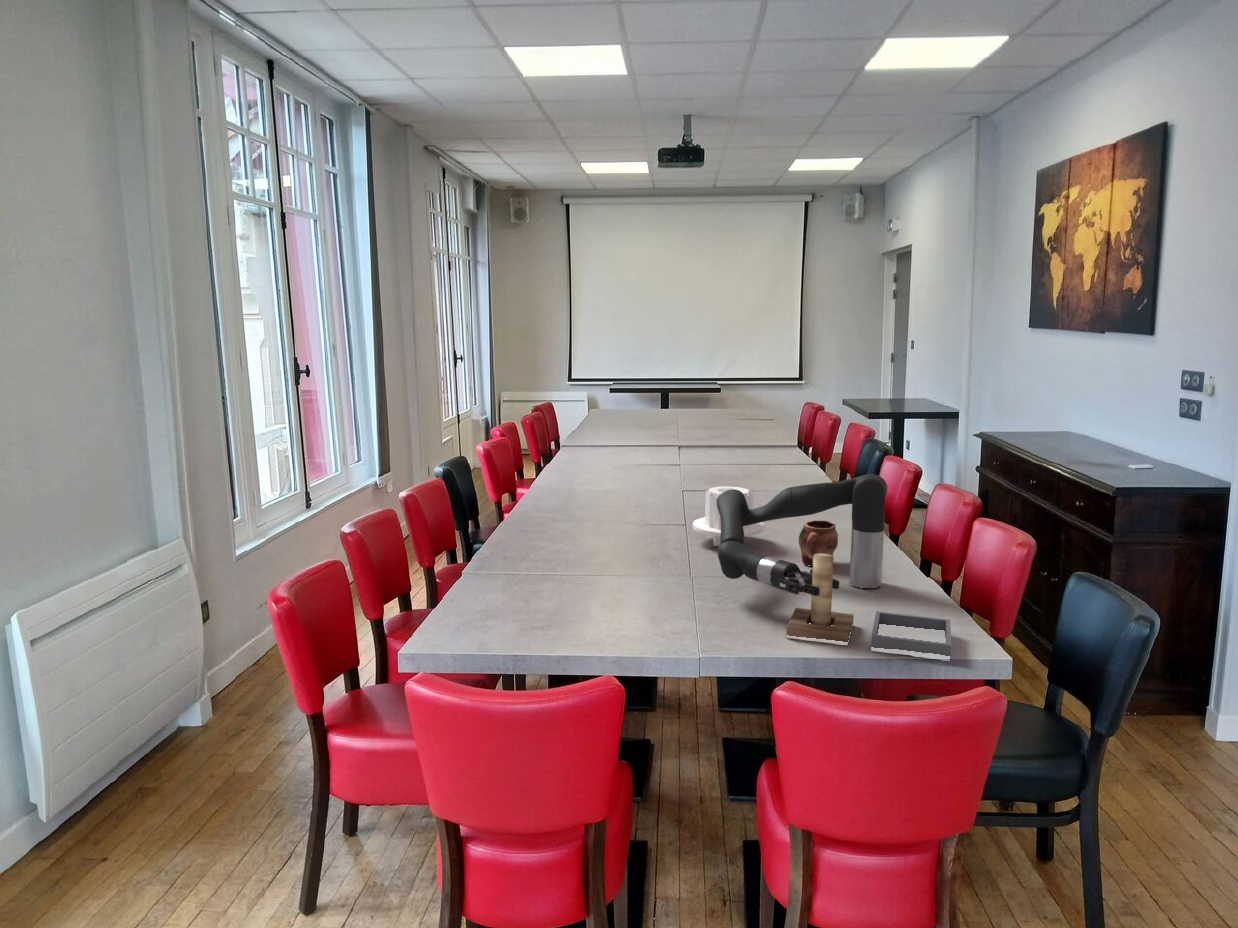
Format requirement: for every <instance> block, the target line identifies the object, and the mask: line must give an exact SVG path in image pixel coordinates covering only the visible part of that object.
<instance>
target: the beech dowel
mask: <svg viewBox="0 0 1238 928" xmlns="http://www.w3.org/2000/svg"><path fill="white" fill-rule="evenodd" d="M833 561H834V555H833V556H832V555H829V554H815V555H813V567H812V569H813V573H812V585H813V586H816V587H819V589H820V592H819V596H814V595H811V601H810V602H811V605H810V608H811V624H816V625H824V626H831V612H832V607H833V606H832V605H833V588H832V582H833V579H834V577H833V576H834V562H833Z"/></svg>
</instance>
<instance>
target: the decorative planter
mask: <svg viewBox="0 0 1238 928" xmlns="http://www.w3.org/2000/svg"><path fill="white" fill-rule="evenodd" d="M836 527H837V526H836V523H834V522H831V521H829V520H825V519H824V520H816V519H815V520H814V519H813V520H811V521H807V522H805V523H804V524H803V526H802V528H801V531H800V533H799V535H798V546H799V549H800V553H801V560H802V563H804V564H806V565H810V566H813V555H815V554H829V555H832V556H833V557H834V553H835V551H836V549H837V548H838V544H839V538H838V537H839V532H838V531H837V530H836ZM833 563H834V560H833ZM804 564H803V565H804ZM806 565H805V566H806ZM810 566H809V567H810Z"/></svg>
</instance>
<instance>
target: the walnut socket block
mask: <svg viewBox="0 0 1238 928" xmlns="http://www.w3.org/2000/svg"><path fill="white" fill-rule="evenodd" d="M854 617H855V615H854V613H845V612H836V611H831V625H833V626H824V625H816V624H809V623H811V609H810V608H803V607H795V609H794V611H792V614H791V617H790V618H789V621H788V624H787V626H786V635H789V636H796V637H806V638H816V639H826V640H835V641H843V642H848V640H849V641H850V639H849V636H850V637H851V635H850V632H851V628H852V625H853V626H854ZM852 629H853V628H852ZM851 633H852V632H851Z"/></svg>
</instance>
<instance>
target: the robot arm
mask: <svg viewBox="0 0 1238 928" xmlns="http://www.w3.org/2000/svg"><path fill="white" fill-rule="evenodd" d="M887 493H888V485H887V482H886V480H885V479H884V478H883V477H881V476H880V475H878V474H875V473H866V474H864V475H859V476H856V477H852V478H849V479H844V480H840V481H839V480H838V481H834V482H819V483H810V484H803V485H796V486H791V487H790V486H789V487H785V489H783V490H782V491H780V492H779V493H778V494H776V495H775V496H774V497H773V498H771V500H770V501H768V502H767V503H766V504H764V505H763V506H759V507H756V508H753V509H749V508H748V505H747V502H746V498H745V496H744V494H743V493H742V492H741V491H739V490H735V489H733V490H728V491H725V492H723V493H722V494H720V495H719V497H718V498H717V508H718V511H719V514H720V519H721V537H720V546H718V548H717V557H718V559H719V560H718V561H719V564H720V567H721V572H722V574H723V575H724V576H725V577H726V578H728V579H731V580H735V579H739V578H741V577H743V576H744V575H745V577H747V578H748V579H750V580H753V581H756V582H760V583H762V584H764V585H767V586H770V587H774V588H775V589H779V590H781V591H784V592H788V593H791V594H793V595H799V594H809V595H811V596H812V595H814V596H819V592H820V589H819V587H816V586H813V585H812V573H813V568H812V569H810V570H809V572H808V571H804V570H802V571H801V570H800V567H799V565H797V564H796V563H794V562H790V561H786V560H783V559H780V558H777V557H770V556H766V555H763V554H758V553H756V552H755V551H754V550H752V549H751V548H749V547H748V546H746V545H745V536H744V530H743V526H747V525H752V524H756V523H760V522H762V523H764V522H768V521H774V520H775V521H776V520H780V519H788V518H797V517H803V516H806V517H807V516H810V515H811V516H812V515H815V514H819V513H822V512H825V511H827V510H828V511H829V510H831V509H834V508H836V507H840V506H846V505H851V542H850V543H851V545H850V563H849V564H850V565H849V579H848V580H849V581H848V583H849V582H850V584H852V585H854V586H857V587H862V588H875V587H879V586H880V585H881V586H882V579H883V578H882V577H883V576H882V575H883V563H884V562H883V558H884V540H885V523H886V522H885V510H886V496H887ZM850 584H849V585H850ZM852 585H851V586H852ZM854 586H853V587H854ZM857 587H856V588H857ZM862 588H861V589H862ZM879 588H880V587H879ZM832 589H835V590H838V589H840V580H838V579H836V578H833V582H832Z"/></svg>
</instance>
